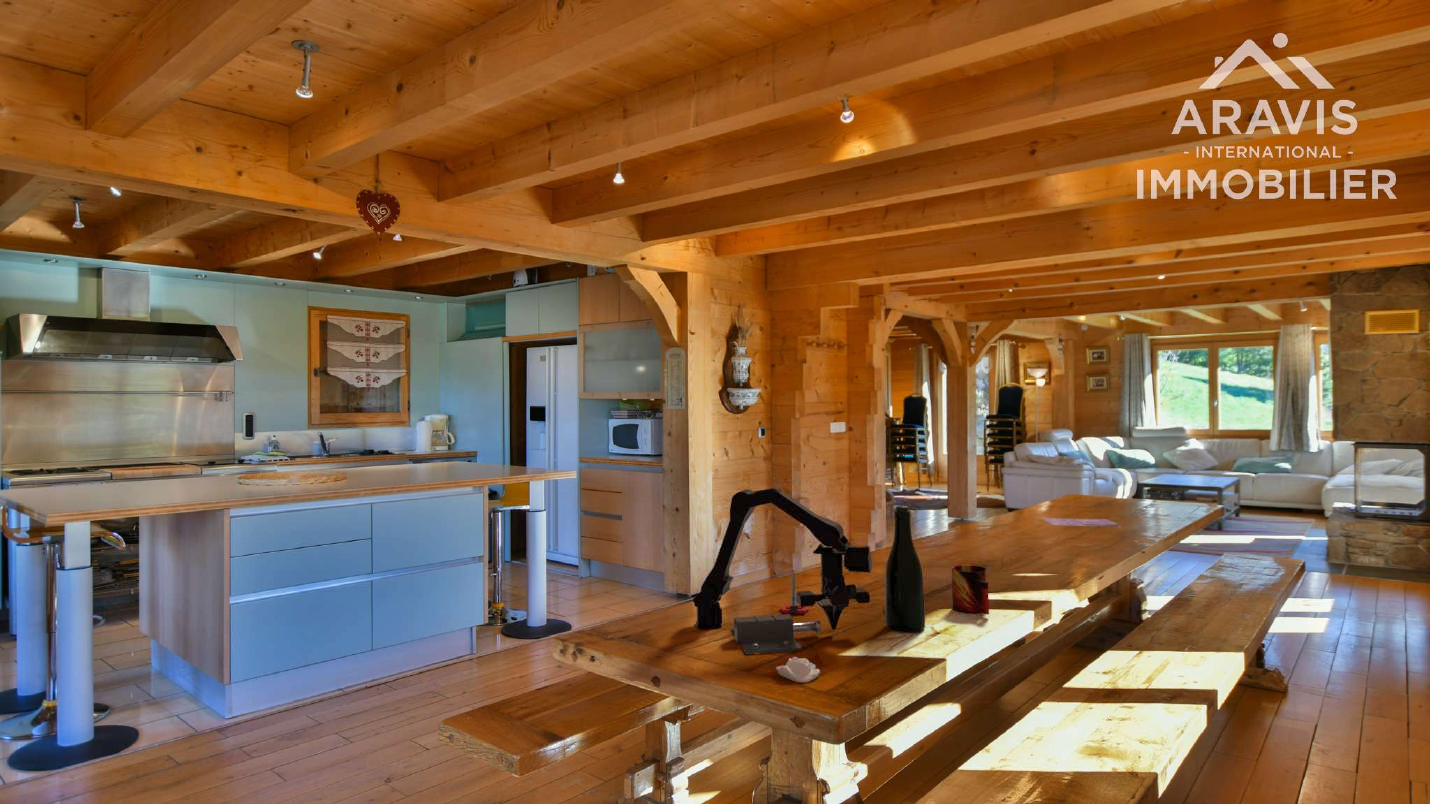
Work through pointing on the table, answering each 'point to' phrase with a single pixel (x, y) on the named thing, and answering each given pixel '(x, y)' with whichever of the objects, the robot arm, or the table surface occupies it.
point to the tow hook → (793, 601)
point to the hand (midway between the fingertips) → (833, 629)
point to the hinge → (765, 634)
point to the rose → (798, 670)
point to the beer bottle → (904, 579)
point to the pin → (807, 627)
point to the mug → (970, 589)
